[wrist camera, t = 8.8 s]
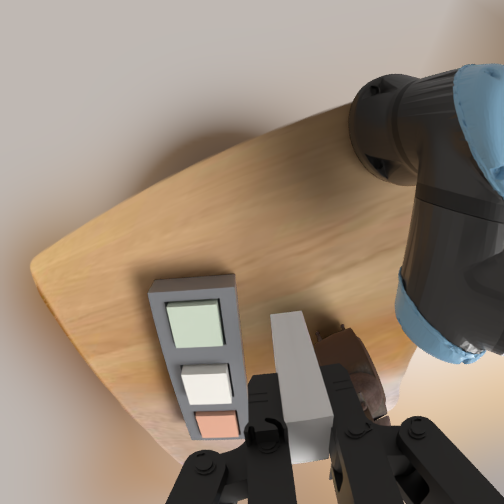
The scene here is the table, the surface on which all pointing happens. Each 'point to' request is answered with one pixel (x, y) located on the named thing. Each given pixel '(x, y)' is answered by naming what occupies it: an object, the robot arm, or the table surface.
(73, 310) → the table surface
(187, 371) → the key offwhite
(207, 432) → the key terracotta
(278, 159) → the table surface
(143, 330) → the table surface
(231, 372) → the keypad
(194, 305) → the key sage
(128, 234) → the table surface
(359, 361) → the alarm clock
